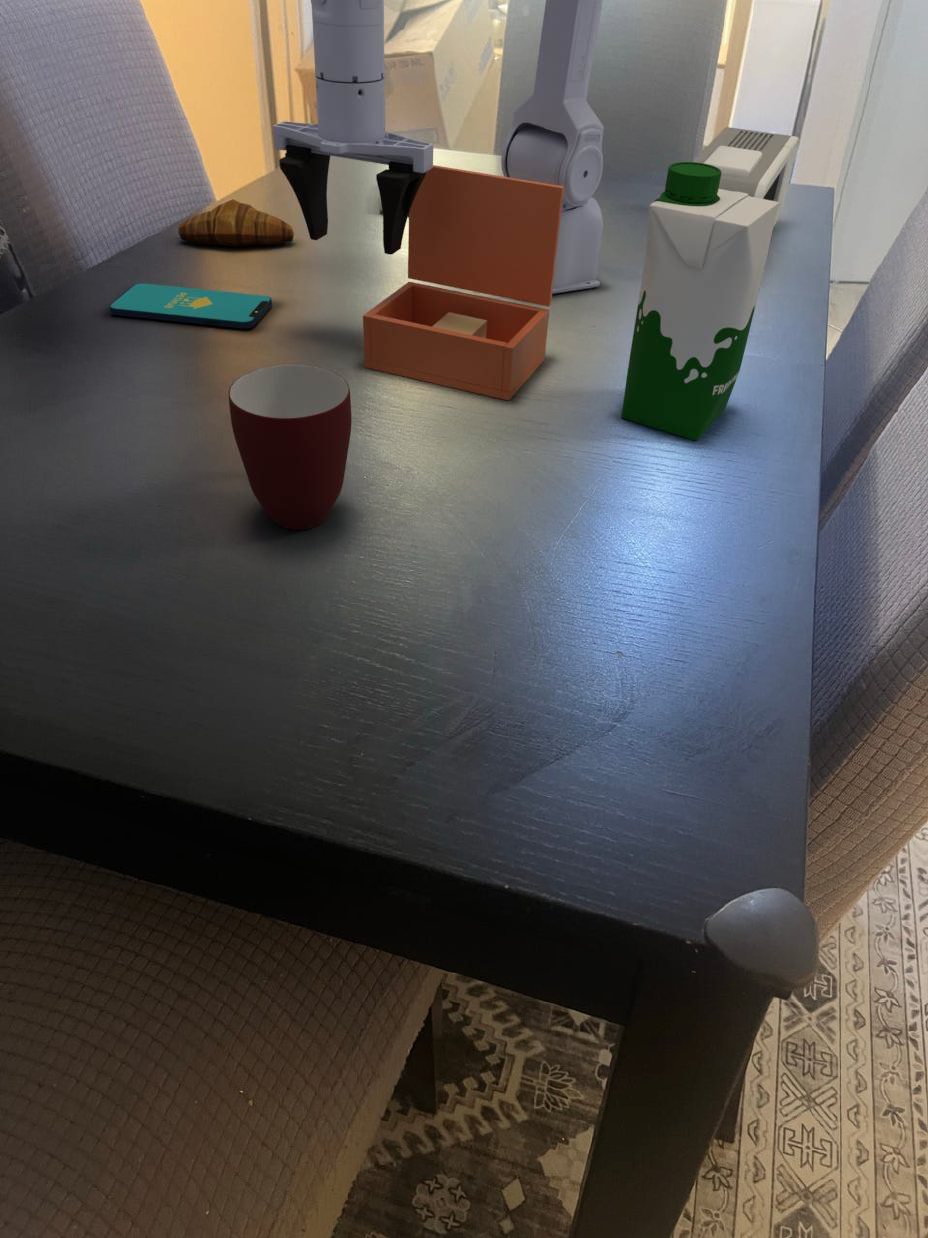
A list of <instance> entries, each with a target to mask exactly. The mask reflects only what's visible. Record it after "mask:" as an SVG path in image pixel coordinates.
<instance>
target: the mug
mask: <svg viewBox="0 0 928 1238" xmlns="http://www.w3.org/2000/svg"><path fill="white" fill-rule="evenodd" d="M351 399H352V398H351V389H350V385H349V384H348V382H347V381H346V380H345V378H344V377H342V376H341V375H340V374H338V373H336V372H334V371H332V370H329V369H326V368H324V367H321V366H315V365H308V364H296V363H295V364H292V363H291V364H277V365H270V366H265V367H260V368H257V369H255V370H252V371H249V372H247V373H245V374H243V375H241V376H239V377H238V378H237V379H236V380H235V381H234V382H232V384H231V385H230V386H229V389H228V405H229V415H230V423H231V428H232V432H233V433H232V434H233V436H234V440H235V443H236V446H237V449H238V453H239V455H240V458H241V462H242V465H243V468H244V471H245V475H246V477H247V480H248V484H249V486H250V488H251V491H252V493H253V496H254V497H255V498H256V500H257V502H258V503H259V504H260V506H261V508H263V510H264V511H265V512H266V513H267V515H268V516H269V517H270V518H271V520H272V521H273V522H274V523H275V524H276V525H278V526H279V527H281V528H282V529H283V528H284V529H287V530H293V531H304V530H309V529H313V528H316V527H318V526H320V525H322V524H323V523H324V522H325V521H326V520H327V518H328V517H329V514H330V513H331V511H332V509H333V508H334V506H335V504H336V503H337V500H338V498H339V496H340V494H341V492H342V489H343V486H344V482H345V481H344V480H345V474H346V467H347V461H348V460H347V459H348V454H349V446H350V440H351V433H352V402H351V401H352V400H351Z"/></svg>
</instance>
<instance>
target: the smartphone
mask: <svg viewBox="0 0 928 1238" xmlns="http://www.w3.org/2000/svg"><path fill="white" fill-rule="evenodd" d="M272 306H273V300H272V297H271V296H269V295H261V294H251V293H242V292H231V291H222V290H213V289H203V288H192V287H182V286H174V285H173V286H172V285H163V284H155V283H154V284H152V283H145V282H144V283H142V282H141V283H137V284H134V285H133V286H132V287H131V288H129V289H128V290H127V291H126V292H125V293H123V294H122V295H121V296H120V297H119V298H117V299H116V300H115V301H114V302H112V303H111V304H110V305H109V310H110V314H111V315H115V316H123V317H132V318H142V319H151V320H161V321H169V322H180V323H188V324H198V325H207V326H217V327H224V328H225V327H227V328H235V329H236V328H237V329H251V328H253V327H255V325H256V324H257V323H258V322H259V320H260V319H262V317H263V316H264V315H265V314H266V312H268V310H269V309H270V308H271V307H272Z"/></svg>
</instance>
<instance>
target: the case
mask: <svg viewBox="0 0 928 1238" xmlns="http://www.w3.org/2000/svg"><path fill="white" fill-rule="evenodd" d="M449 312H450V313H454V314H459V315H464V316H469V317H474V318H478V319H483V320H487V331H486V338H482V337H478V336H473V335H468V334H464V333H459V332H454V331H450V330H445V329H440V328H436V327H432V326H433V325H434V324H436V323H437V322H438V321H439V320H440V319H441V318H443V317H444V316H445V315H446V314H447V313H449ZM549 318H550V309H547V308H542V307H539V306H532V305H528V304H523V303H518V302H513V301H508V300H507V301H506V300H502V299H497V298H493V297H487V296H483V295H478V294H474V293H473V294H472V293H468V292H463V291H458V290H454V289H448V288H443V287H438V286H433V285H430V284H429V285H428V284H424V283H418V282H413V281H407V282H406V283H405V284H403V285H402V286H401V287H399V288H398V289H397V290H396V291H394V292H393V293H391V294H390V295H389V296H387V297H386V298H385V299H383V300H382V301H381V302H379V303H378V304H376V305H375V306H374V307H373V308H371V309H370V310H368V311H367V312H366V313H364V314H363V315H362V333H363V335H362V337H363V366H364V368H366V369H370V370H374V371H375V370H376V371H380V372H384V373H389V374H393V375H397V376H402V377H405V378H410V379H414V380H418V381H423V382H427V383H432V384H434V385H435V384H436V385H440V386H445V387H449V388H453V389H457V390H460V391H461V390H462V391H465V392H470V393H474V394H478V395H483V396H487V397H492V398H496V399H499V400H504V401H510V400H511V399H512V398H513V397H514V395H516V394H517V392H518V391H519V390H520V388H521V387H523V385H524V384H525V383H526V382H527V380H529V378H531V376H532V375H533V374H534V373H535V371H536V370H537V369H538V368H539V367H540V366H541V365H542V363H543V362H544V361H545V359H546V350H547V339H548V328H549Z"/></svg>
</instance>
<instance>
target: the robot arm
mask: <svg viewBox="0 0 928 1238" xmlns="http://www.w3.org/2000/svg"><path fill="white" fill-rule="evenodd" d="M603 2H604V0H545V5H544V11H543V19H542V26H541V33H540V41H539V49H538V56H537V64H536V70H535V71H536V72H535V79H534V86H533V93H532V94H531V96H530V97H529V98H527V99H526V100H525V101H523V102H522V103H520V105H519V106H518V107H517V108H515V109H514V111H513V112H512V121H511V126H510V130H509V132H508V135H507V138H506V139H505V142H504V145H503V148H502V151H501V160H500V161H501V170H502V176H503V177H510V178H516V179H522V180H528V181H534V182H540V183H547V184H553V185H559V186H564V192H563V201H562V210H561V219H560V228H559V237H558V246H557V255H556V264H555V273H554V282H553V291H552V295H555V294H561V293H566V292H573V291H580V290H586V289H592V288H598V287H600V283H601V282H600V281H599V280H598V279H597V276H598V268H599V261H600V253H601V246H602V245H601V244H602V237H603V230H604V229H603V227H604V222H603V214H602V209H601V207H600V205H599V204H598V202H597V200H596V199H595V198H594V197H593V196H594V194H595V193H596V191H597V189H598V187H599V185H600V183H601V180H602V176H603V171H604V157H603V136H604V131H605V128H604V125H603V123H602V121H601V120H600V119H599V117H598V116H597V115H596V113H595V112H594V110H593V109H592V107H591V106H590V104H589V102H588V100H587V98H588V93H589V86H590V82H591V81H590V80H591V74H592V67H593V62H594V56H595V50H596V43H597V38H598V32H599V26H600V19H601V12H602V7H603ZM310 3H311V18H312V19H311V20H312V37H313V55H314V56H313V57H314V74H315V75H314V76H315V78H314V79H315V97H316V116H317V117H316V118H317V123H309V122H296V121H288V120H283V121H281V122H278V123H276V124H274V125H272V131H273V132H272V133H273V143H274V149H275V150H277V151H285V153H284V156H283V157H281V158H279V169H280V170H281V172H282V174H283V175H284V176H285V178H286V180H287V181H288V183H289V185H290V187H291V189H292V190H293V193H294V195H295V198H296V199H297V201H298V204H299V206H300V210H301V212H302V215H303V218H304V221H305V224H306V228H307V230H308V231H307V232H308V235H309V239H310V240H312V241H319V240H320V239H321V238H323V237H325V236H326V235H328V229H329V214H328V180H329V179H328V177H329V171H330V170H329V169H330V160H331V157H337V158H342V159H349V160H354V161H362V162H366V163H372V164H378V165H379V164H380V165H385V166H388V169H383V170H382V171H380V172H379V173H376V174H375V177H376V178H375V180H376V184H377V189H378V192H379V199H380V198H381V204H382V211H381V212H382V245H383V252H384V255H385V254H386V255H390V256H391V255H394V254H395V253H397V252H398V251H399V250H401V249H402V243H403V237H404V233H405V229H406V226H407V225H406V224H407V220H408V219H409V211H410V208H411V206H412V203H413V201H414V198H415V196H416V194H417V191H418V189H419V187H420V185H421V183H422V181H423V179H424V178H425V175H426V171H428V170H430V169H432V168H433V165H434V143H430V142H425V141H421V140H416V139H413V138H410V137H406V136H402V135H398V134H395V133H393V132H389V131H386V85H385V84H386V83H385V81H386V80H385V79H386V78H385V1H384V0H310Z"/></svg>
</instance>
